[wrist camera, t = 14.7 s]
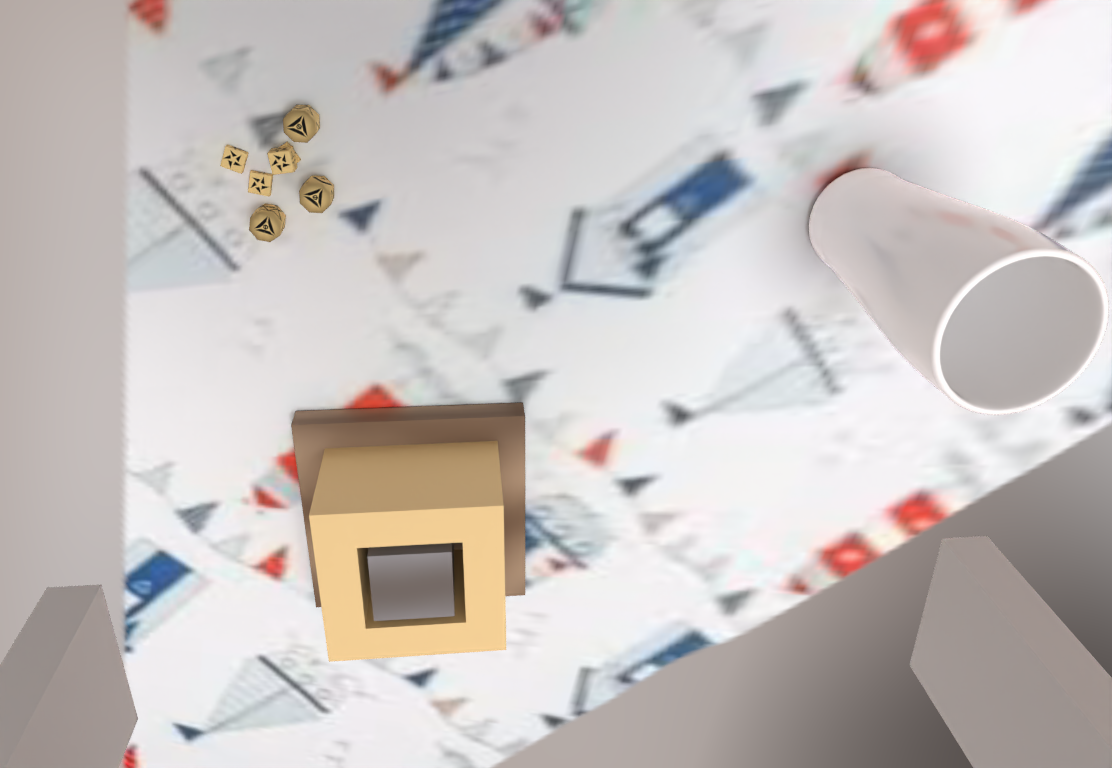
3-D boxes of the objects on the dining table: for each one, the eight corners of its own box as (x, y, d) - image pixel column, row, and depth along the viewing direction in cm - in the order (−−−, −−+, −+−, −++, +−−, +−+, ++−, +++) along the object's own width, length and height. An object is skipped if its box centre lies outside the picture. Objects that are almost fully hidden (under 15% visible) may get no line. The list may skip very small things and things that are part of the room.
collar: (324, 448, 47) (308, 515, 41) (497, 441, 48) (503, 505, 42) (341, 584, 51) (329, 661, 46) (500, 575, 52) (506, 649, 46)
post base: (295, 410, 47) (270, 490, 41) (522, 402, 49) (534, 478, 42) (319, 590, 53) (300, 685, 46) (523, 578, 54) (533, 670, 47)
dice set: (313, 96, 41) (308, 104, 39) (359, 200, 43) (355, 211, 42) (211, 133, 41) (200, 142, 40) (262, 234, 44) (254, 247, 42)
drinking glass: (915, 133, 44) (1116, 223, 31) (924, 259, 47) (1111, 389, 34) (781, 172, 44) (924, 279, 31) (800, 295, 47) (937, 439, 34)
